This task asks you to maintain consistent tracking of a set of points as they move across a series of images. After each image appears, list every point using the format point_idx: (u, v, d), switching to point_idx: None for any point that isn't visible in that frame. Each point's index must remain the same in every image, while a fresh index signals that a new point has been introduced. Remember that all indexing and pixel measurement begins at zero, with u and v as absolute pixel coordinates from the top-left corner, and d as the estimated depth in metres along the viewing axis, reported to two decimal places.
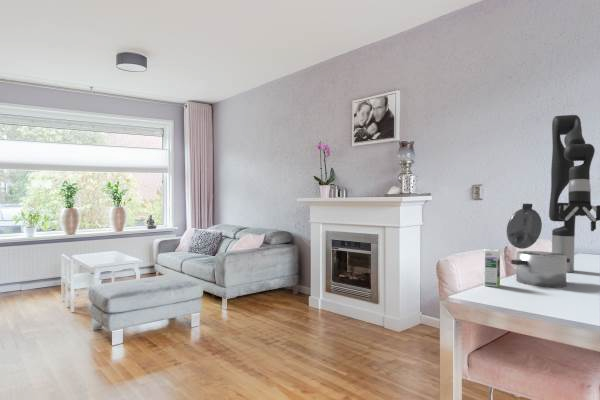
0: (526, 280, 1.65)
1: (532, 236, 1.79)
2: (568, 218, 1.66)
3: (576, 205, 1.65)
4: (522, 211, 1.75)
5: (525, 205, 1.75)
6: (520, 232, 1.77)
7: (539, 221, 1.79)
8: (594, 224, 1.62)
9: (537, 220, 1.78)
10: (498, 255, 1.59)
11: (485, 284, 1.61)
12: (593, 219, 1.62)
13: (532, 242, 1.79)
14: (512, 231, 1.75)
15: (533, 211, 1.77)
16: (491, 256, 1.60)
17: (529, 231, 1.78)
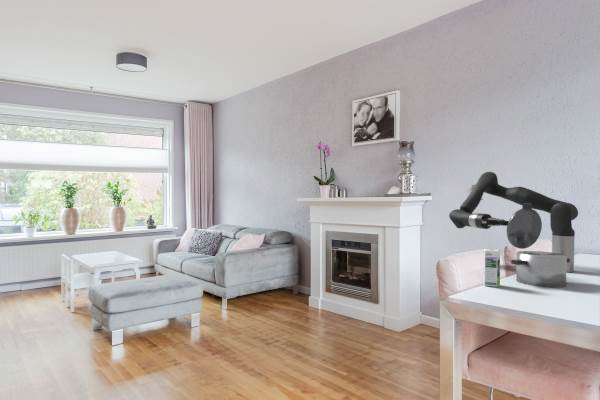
0: (526, 280, 1.65)
1: (532, 236, 1.79)
2: (498, 220, 1.92)
3: (487, 219, 1.97)
4: (522, 211, 1.75)
5: (525, 205, 1.75)
6: (520, 232, 1.77)
7: (539, 221, 1.79)
8: None
9: (537, 220, 1.78)
10: (498, 255, 1.59)
11: (485, 284, 1.61)
12: (500, 220, 1.91)
13: (532, 242, 1.79)
14: (512, 231, 1.75)
15: (533, 211, 1.77)
16: (491, 256, 1.60)
17: (529, 231, 1.78)
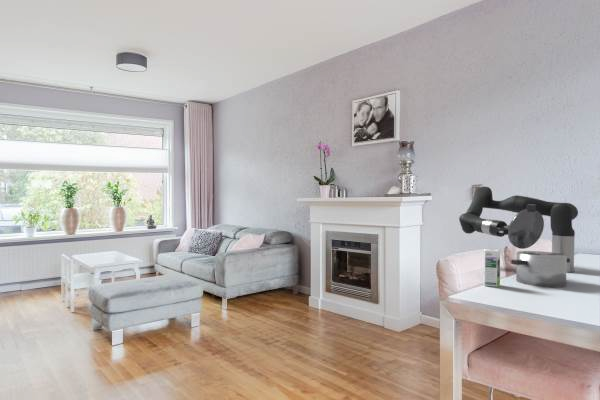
0: (526, 280, 1.65)
1: (533, 236, 1.78)
2: None
3: (502, 227, 1.88)
4: (525, 212, 1.74)
5: (529, 206, 1.73)
6: (521, 232, 1.76)
7: (541, 222, 1.78)
8: None
9: (539, 221, 1.77)
10: (498, 255, 1.59)
11: (485, 284, 1.61)
12: None
13: (533, 242, 1.79)
14: (513, 232, 1.74)
15: (536, 212, 1.75)
16: (491, 256, 1.60)
17: (531, 232, 1.77)
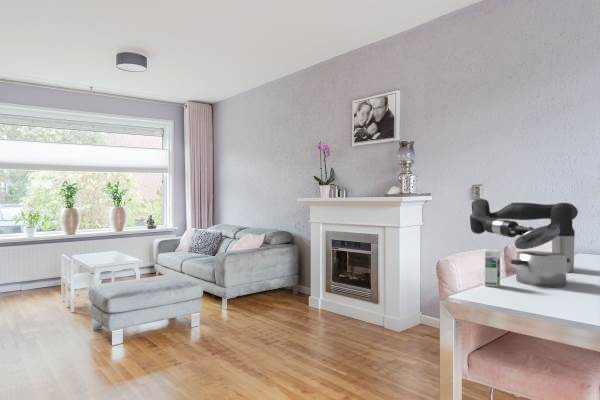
0: (526, 280, 1.65)
1: (540, 242, 1.75)
2: (527, 229, 1.76)
3: (514, 227, 1.82)
4: (545, 229, 1.64)
5: (552, 225, 1.63)
6: (530, 240, 1.72)
7: (556, 234, 1.71)
8: None
9: (555, 234, 1.70)
10: (498, 255, 1.59)
11: (485, 284, 1.61)
12: (530, 229, 1.76)
13: (536, 245, 1.77)
14: (522, 240, 1.70)
15: (556, 229, 1.66)
16: (491, 256, 1.60)
17: (539, 240, 1.73)
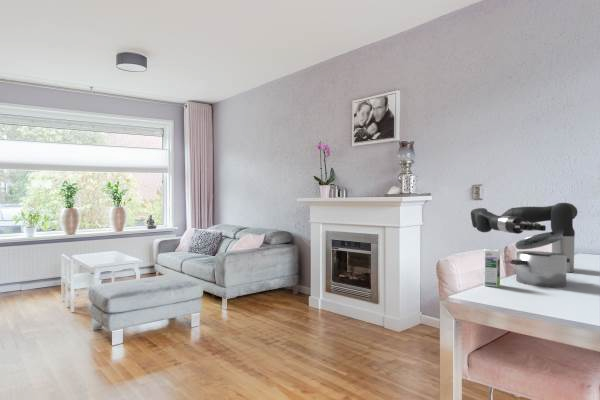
0: (526, 280, 1.65)
1: (541, 244, 1.75)
2: (533, 224, 1.73)
3: (519, 223, 1.79)
4: (548, 235, 1.63)
5: (555, 233, 1.61)
6: (531, 243, 1.71)
7: (558, 239, 1.70)
8: None
9: (557, 238, 1.69)
10: (498, 255, 1.59)
11: (485, 284, 1.61)
12: (535, 224, 1.73)
13: None
14: (524, 243, 1.69)
15: (559, 235, 1.65)
16: (491, 256, 1.60)
17: (541, 243, 1.72)
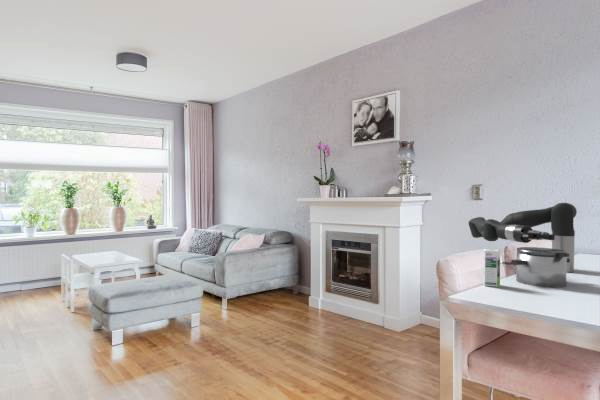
0: (526, 280, 1.65)
1: None
2: (541, 233, 1.69)
3: (527, 232, 1.74)
4: (551, 255, 1.61)
5: (560, 256, 1.59)
6: None
7: None
8: None
9: None
10: (498, 255, 1.59)
11: (485, 284, 1.61)
12: (544, 233, 1.69)
13: None
14: None
15: None
16: (491, 256, 1.60)
17: None
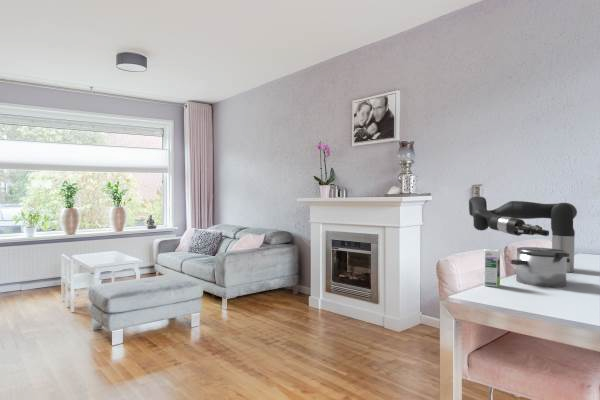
0: (526, 280, 1.65)
1: None
2: (535, 228, 1.73)
3: (521, 226, 1.79)
4: (551, 255, 1.61)
5: (560, 256, 1.59)
6: None
7: None
8: None
9: None
10: (498, 255, 1.59)
11: (485, 284, 1.61)
12: (538, 228, 1.73)
13: None
14: None
15: None
16: (491, 256, 1.60)
17: None
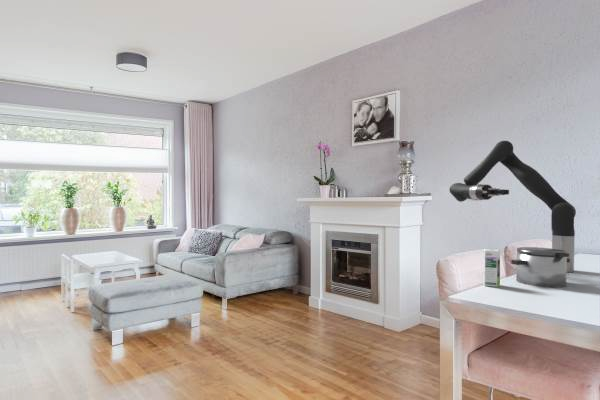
0: (526, 280, 1.65)
1: None
2: (498, 189, 1.91)
3: None
4: (551, 255, 1.61)
5: (560, 256, 1.59)
6: None
7: None
8: None
9: None
10: (498, 255, 1.59)
11: (485, 284, 1.61)
12: (501, 189, 1.91)
13: None
14: None
15: None
16: (491, 256, 1.60)
17: None
